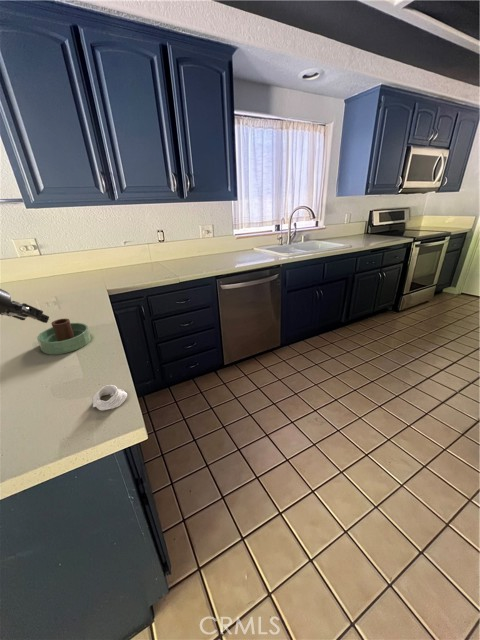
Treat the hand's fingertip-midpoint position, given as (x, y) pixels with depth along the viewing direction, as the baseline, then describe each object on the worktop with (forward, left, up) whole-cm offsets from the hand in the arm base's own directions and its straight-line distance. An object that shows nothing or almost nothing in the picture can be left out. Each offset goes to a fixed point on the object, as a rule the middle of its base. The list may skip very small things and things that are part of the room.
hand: (36, 318), depth 83 cm
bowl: (+4, +6, -14) cm, 16 cm away
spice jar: (+4, +6, -13) cm, 15 cm away
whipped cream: (+23, -31, -14) cm, 41 cm away
